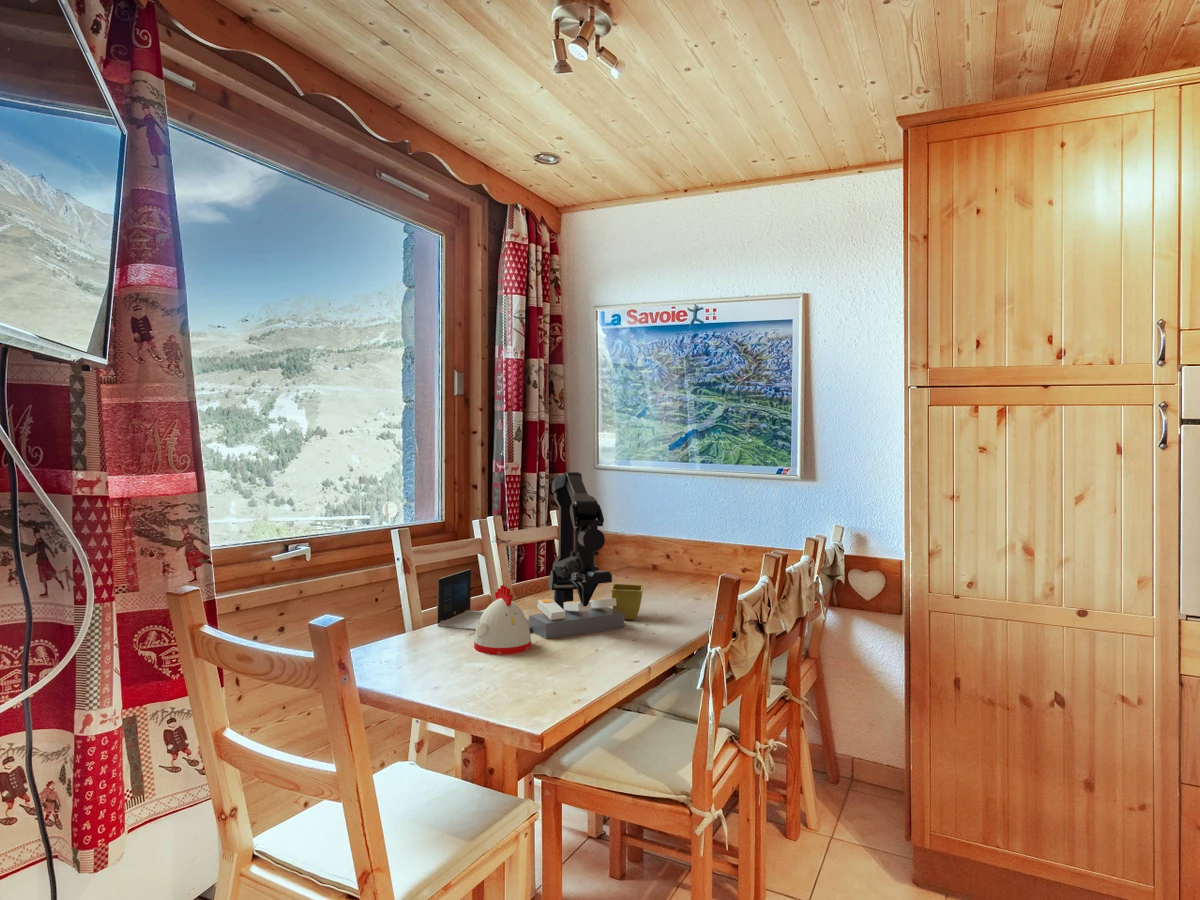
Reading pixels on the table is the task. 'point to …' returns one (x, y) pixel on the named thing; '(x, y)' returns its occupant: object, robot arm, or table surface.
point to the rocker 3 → (603, 602)
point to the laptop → (456, 602)
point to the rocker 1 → (551, 609)
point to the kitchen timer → (502, 627)
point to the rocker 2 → (576, 606)
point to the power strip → (577, 622)
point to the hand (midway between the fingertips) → (584, 605)
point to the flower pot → (627, 599)
